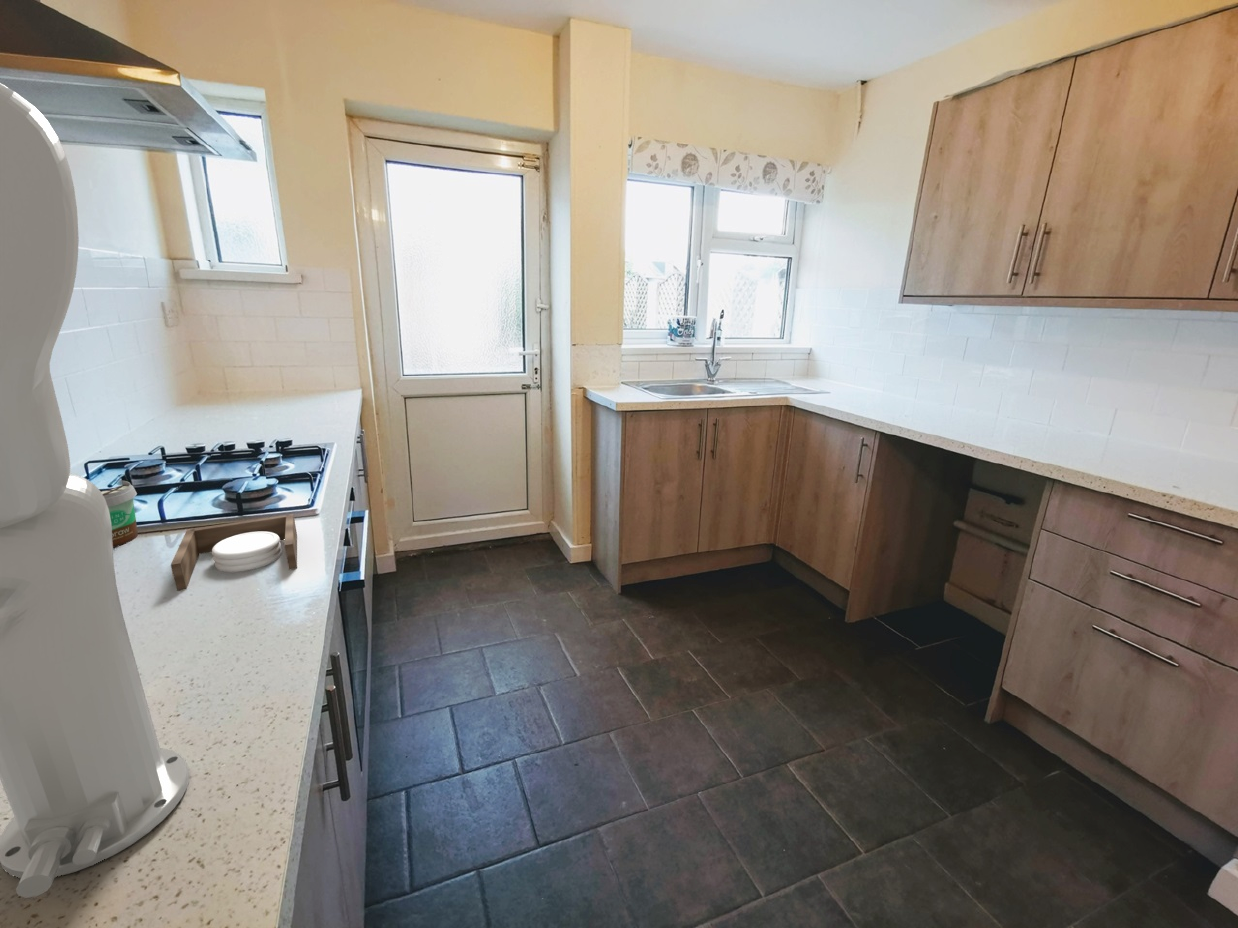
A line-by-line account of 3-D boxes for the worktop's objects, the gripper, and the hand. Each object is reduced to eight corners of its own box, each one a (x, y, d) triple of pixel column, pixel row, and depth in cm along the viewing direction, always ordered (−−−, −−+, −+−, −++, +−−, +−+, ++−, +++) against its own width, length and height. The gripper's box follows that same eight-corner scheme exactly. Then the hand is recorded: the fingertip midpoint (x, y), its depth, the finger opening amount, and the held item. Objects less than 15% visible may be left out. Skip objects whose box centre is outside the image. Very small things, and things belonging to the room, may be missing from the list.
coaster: (285, 544, 105) (282, 526, 104) (279, 566, 96) (276, 547, 95) (221, 553, 101) (217, 535, 100) (209, 578, 92) (205, 558, 91)
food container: (95, 558, 98) (79, 504, 95) (67, 555, 99) (51, 501, 96) (163, 530, 109) (151, 482, 106) (137, 527, 111) (125, 479, 108)
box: (297, 568, 95) (292, 543, 94) (177, 590, 87) (170, 564, 86) (297, 535, 108) (293, 513, 106) (192, 552, 100) (186, 529, 99)
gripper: (-40, 258, 49) (22, 458, 55) (28, 265, 62) (73, 427, 67) (-171, 255, 46) (-91, 469, 51) (-70, 262, 58) (-14, 434, 64)
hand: (2, 445), depth 59 cm, fingers closed
